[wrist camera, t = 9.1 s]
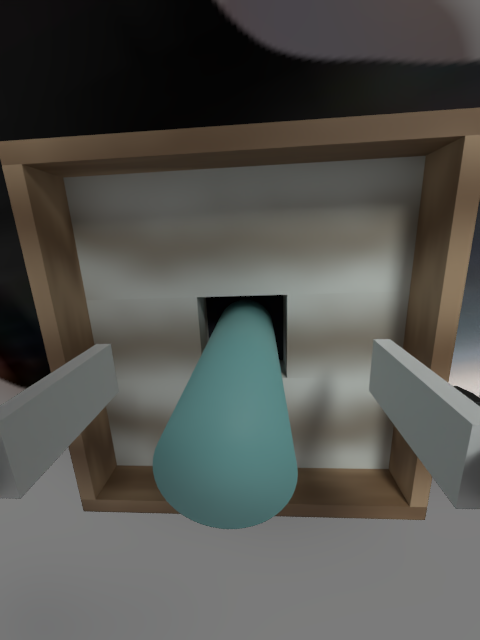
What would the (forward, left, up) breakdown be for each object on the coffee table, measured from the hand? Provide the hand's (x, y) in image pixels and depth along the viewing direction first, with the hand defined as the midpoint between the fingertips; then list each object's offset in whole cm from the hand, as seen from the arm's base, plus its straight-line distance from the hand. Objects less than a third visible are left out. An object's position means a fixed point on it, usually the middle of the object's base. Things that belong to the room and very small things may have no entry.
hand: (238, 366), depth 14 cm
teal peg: (0, 0, -7) cm, 7 cm away
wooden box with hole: (0, 0, -7) cm, 7 cm away
